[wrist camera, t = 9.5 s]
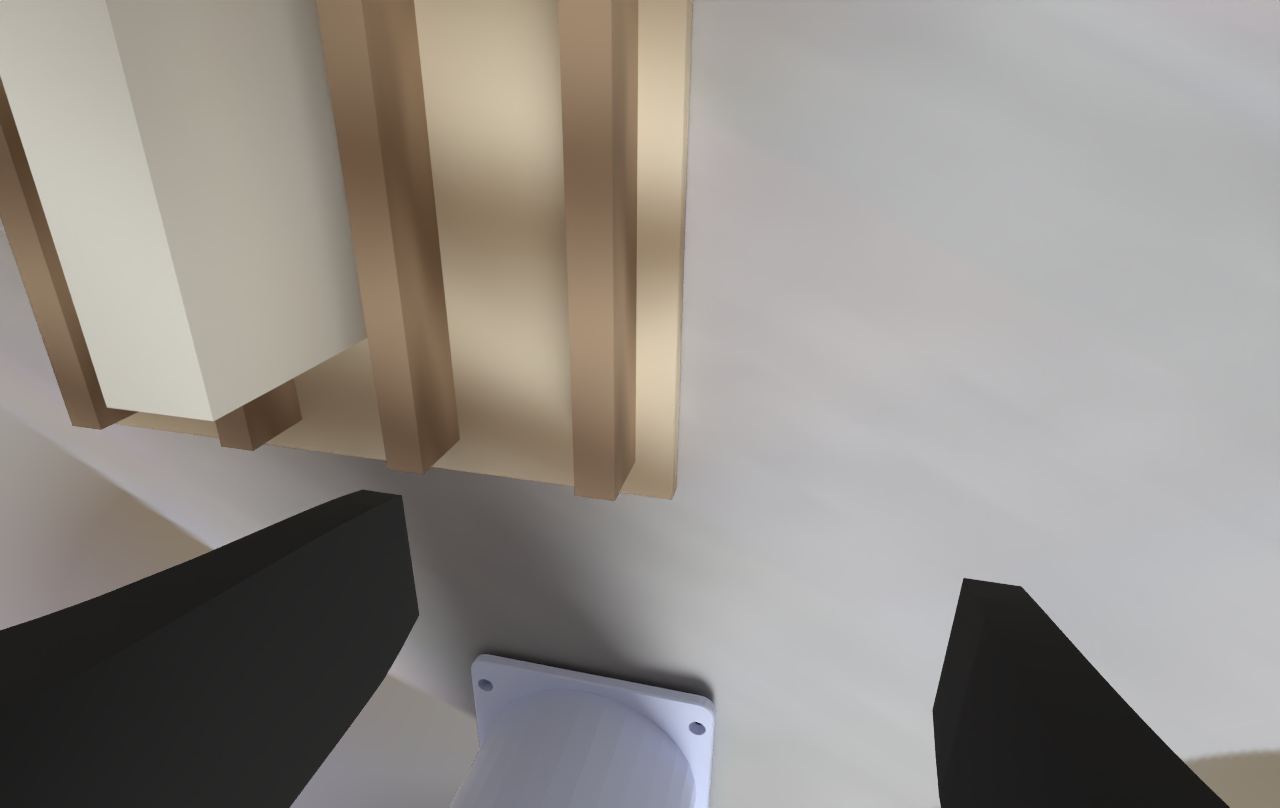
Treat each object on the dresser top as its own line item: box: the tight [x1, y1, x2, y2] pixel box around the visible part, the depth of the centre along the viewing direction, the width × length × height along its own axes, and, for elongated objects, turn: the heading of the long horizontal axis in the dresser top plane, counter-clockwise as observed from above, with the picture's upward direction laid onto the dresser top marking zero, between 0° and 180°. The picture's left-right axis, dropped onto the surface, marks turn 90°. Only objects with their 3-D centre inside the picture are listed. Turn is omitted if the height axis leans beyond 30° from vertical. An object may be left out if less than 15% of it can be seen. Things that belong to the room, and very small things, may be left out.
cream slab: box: [0, 0, 367, 421], centre depth 15 cm, size 8×2×6 cm, turn 0°
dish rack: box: [0, 0, 693, 501], centre depth 17 cm, size 16×18×3 cm
